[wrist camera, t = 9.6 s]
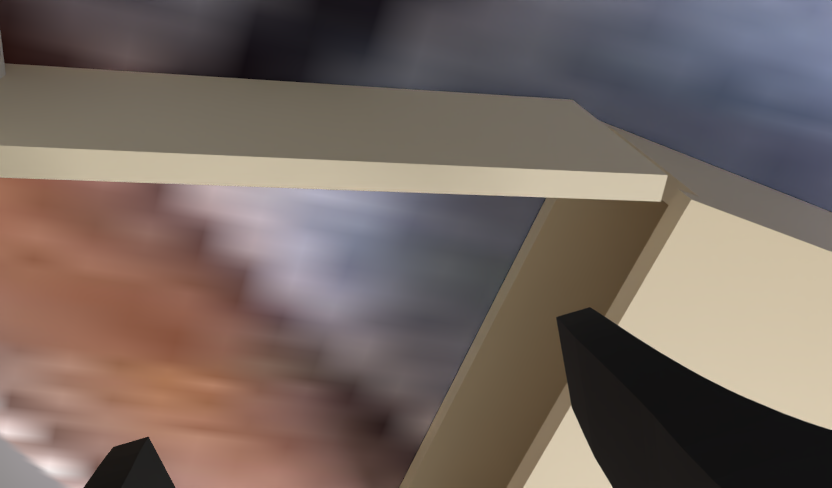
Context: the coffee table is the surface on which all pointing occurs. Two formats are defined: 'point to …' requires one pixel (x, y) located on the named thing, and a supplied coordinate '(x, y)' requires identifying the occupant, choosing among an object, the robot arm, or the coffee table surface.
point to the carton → (640, 319)
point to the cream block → (308, 136)
